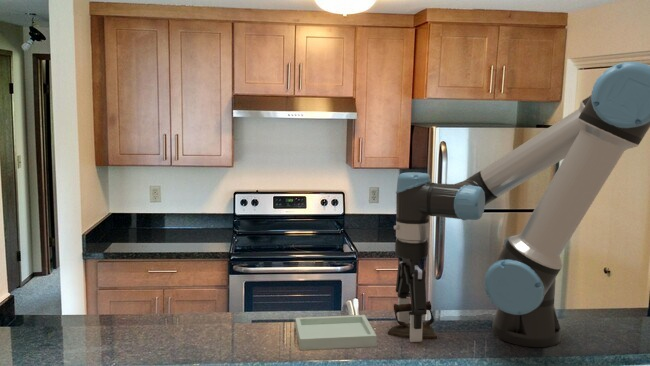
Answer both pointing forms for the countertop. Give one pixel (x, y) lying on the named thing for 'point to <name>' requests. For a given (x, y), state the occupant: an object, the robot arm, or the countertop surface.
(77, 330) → the countertop surface
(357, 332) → the iron rest
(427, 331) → the clothes iron
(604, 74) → the robot arm
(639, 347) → the countertop surface
